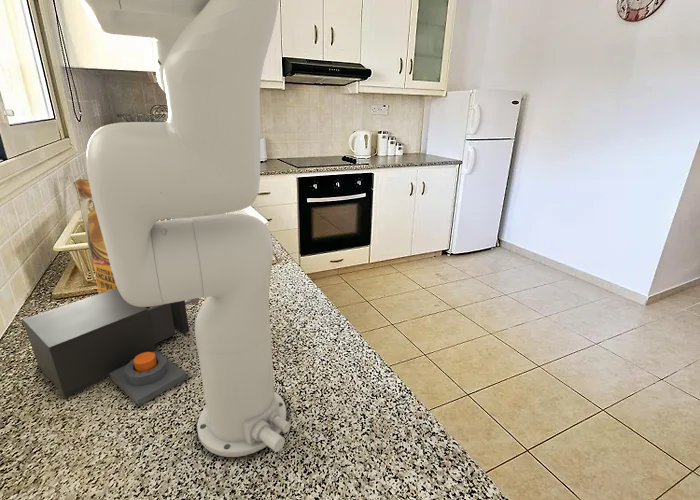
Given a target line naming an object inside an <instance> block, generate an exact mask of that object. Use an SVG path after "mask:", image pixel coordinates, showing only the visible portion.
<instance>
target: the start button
mask: <svg viewBox="0 0 700 500" xmlns="http://www.w3.org/2000/svg"><path fill="white" fill-rule="evenodd" d="M134 365H135V370H136V371H137V372H144V371H149V370H151V369H152V368H154V367H155V366H156V365H157V361H156V357H155V354H154V353H153V352H144V353H141V354H139V355H137V356H136V357H135V358H134Z"/></svg>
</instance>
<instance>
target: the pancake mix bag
mask: <svg viewBox="0 0 700 500" xmlns="http://www.w3.org/2000/svg"><path fill="white" fill-rule="evenodd" d="M72 183H73V185H74V187H75V190H76V191H75V192H76V194H77V200H78V204H79V207H80V212H81V217H82V224H83V227H84V231H85V233H84V234H85V239H86V243H87V246H88V249H89V252H90V256H91V259H92V263H93V269H94V276H95V281H96V288H97V292H98V294H100V293H103V292H106V291H109V290H112V289H115V288H116V289H117V290H118V288H117V286H116V283H115V280H114V277H113V273H112V270H111V266H110V262H109V258H108V255H107V251H106V247H105V243H104V240H103V236H102V232H101V228H100V225H99V221H98V217H97V213H96V210H95V206H94V202H93V198H92V194H91V189H90V185H89V180H88V179H83V178H82V179H81V178H79V179H76V180H75V181H73V182H72Z"/></svg>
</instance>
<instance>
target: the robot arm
mask: <svg viewBox="0 0 700 500" xmlns="http://www.w3.org/2000/svg"><path fill="white" fill-rule="evenodd" d="M78 1H79V2H80V4H81V6H82V8H83V10H84V11H85V13H86V15H87V16H88V18H89V19H90V21H91V22H92V24H93V25H94V26H95V27H96V28H97V29H98V30H100V31H102V32H103V33H106V34H110V35H119V36H120V35H121V36H129V37H130V36H132V37H141V38H151V41H152V42H151V43H152V48H153V49H152V50H153V57H154V66H155V74H156V79H157V83H158V86H159V87H160V88H161V90H162V91H163V92H164V93H165V95H166V103H167V111H168V117H167V119H166V121H126V122H125V121H123V122H115V123H114V122H113V123H109V124H106V125H103V126H100V127H99V128H98V129H96V130H95V131H94V132H93V133H92V134H91V136H90V138H89V140H88V143H87V148H86V155H85V159H86V172H87V180H89V185H90V189H91V194H92V198H93V202H94V206H95V210H96V213H97V217H98V221H99V225H100V228H101V232H102V236H103V240H104V243H105V247H106V251H107V255H108V258H109V262H110V266H111V270H112V273H113V277H114V280H115V283H116V286H117V288H118V291H119V292H120V294H121V296H122V297H123V299H124V300H125V301H126V302H128V303H129V304H131V305H133V306H137V307H150V308H151V307H153V306H158V305H163V304H168V303H174V302H179V301H184V300H185V301H187V300H190V299H195V298H199V299H201V298H203V299H204V297H206V299H204V300H203V302H202V304H201V305H200V307H199V310H198V312H197V314H196V316H195V317H196V318H195V322H194V337H195V343H196V349H197V356H198V363H199V370H200V375H201V384H202V389H203V396H204V403H205V407H204V408H203V410H202V411H201V413H200V415H199V417H198V420H197V424H196V428H197V435H198V440H199V441H200V443H201V445H202V446H203V447H204V448H205V449H206V450H207V451H209V452H210V453H211V454H214V455H217V456H219V457H225V458H226V457H227V458H239V457H244V456H245V457H246V456H249V455H253V454H255V453H257V452H259V451H261V450H263V449H264V448H266V447H268V448H269V449H271V450H272V451H274V452H275V453H278V452H279V451H281V450H282V449H283V447H284V445H285V443H286V438H285V437H284V436H283V435H281V433H284V434H286V433H288V432H289V431H290V429H291V426H292V424H291V423H290V422H289V421H287V406H286V404H285V403H286V402H285V400H284V399H283V398H282V397H281V395H280V394H279V393H277V392H276V391H275V380H274V377H275V376H274V365H273V350H272V349H273V347H272V332H271V331H272V330H271V318H270V317H271V315H270V314H271V313H270V288H271V287H270V286H271V285H270V284H271V277H272V276H271V275H272V268H273V261H274V260H273V259H274V244H273V239H272V238H273V237H272V234H271V232H270V229H269V228H268V226H267V225H266V224H265V223H264V221H262V220H261V219H259V218H258V217H256V216H254V215H250V214H244V213H234V212H238V211H241V210H244V209H247V208H250V206H252V205H253V204H254V203H255V201H256V199H257V197H258V194H259V190H260V183H261V83H262V75H263V69H264V64H265V60H266V57H267V53H268V50H269V47H270V43H271V40H272V35H273V32H274V28H275V25H276V20H277V16H278V9H279V3H280V0H78Z"/></svg>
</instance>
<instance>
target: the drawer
mask: <svg viewBox="0 0 700 500" xmlns="http://www.w3.org/2000/svg"><path fill="white" fill-rule="evenodd" d="M198 303H200V298H195V299H190V300H184V301H179V302H174V303H168V304H163V305H158V306H150V307H145V308H147V309H148V314H149V319H150V324H151V329H152V334H153V339H154V344H155V345H156V344H159V343H160V342H162V341H164V340H166V339H169V338H171V337H173V336H175V335H176V330H177V331H179V332H180V333H182V334H184V335H185V334H187V333H189V332H190V325H189V318H188V313H187V305H190V304H194V305H196V304H198Z"/></svg>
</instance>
